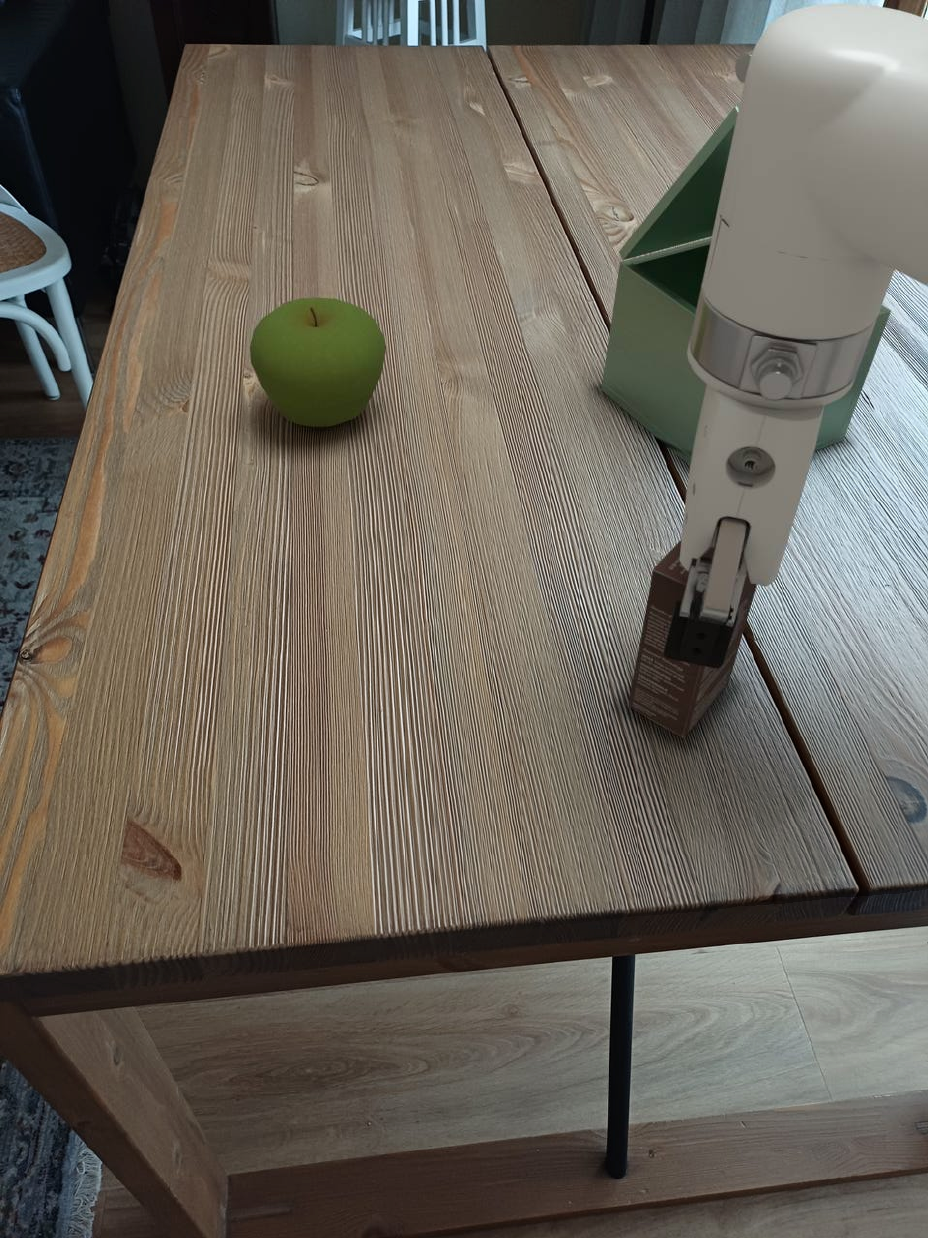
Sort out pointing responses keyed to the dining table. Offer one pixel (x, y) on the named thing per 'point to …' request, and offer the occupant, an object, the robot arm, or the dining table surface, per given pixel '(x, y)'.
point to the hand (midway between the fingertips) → (699, 609)
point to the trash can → (682, 350)
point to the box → (668, 684)
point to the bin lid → (690, 192)
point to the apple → (318, 360)
